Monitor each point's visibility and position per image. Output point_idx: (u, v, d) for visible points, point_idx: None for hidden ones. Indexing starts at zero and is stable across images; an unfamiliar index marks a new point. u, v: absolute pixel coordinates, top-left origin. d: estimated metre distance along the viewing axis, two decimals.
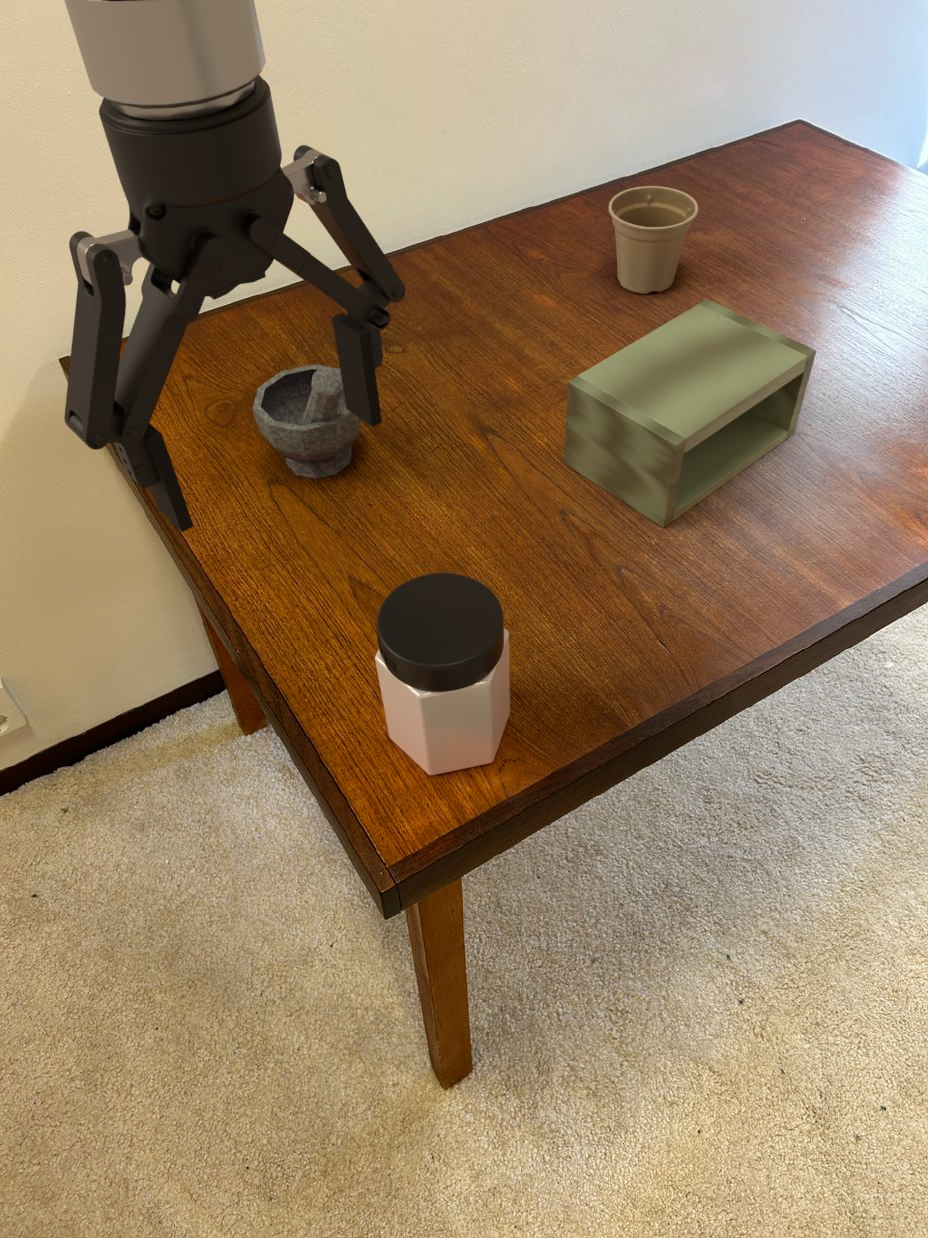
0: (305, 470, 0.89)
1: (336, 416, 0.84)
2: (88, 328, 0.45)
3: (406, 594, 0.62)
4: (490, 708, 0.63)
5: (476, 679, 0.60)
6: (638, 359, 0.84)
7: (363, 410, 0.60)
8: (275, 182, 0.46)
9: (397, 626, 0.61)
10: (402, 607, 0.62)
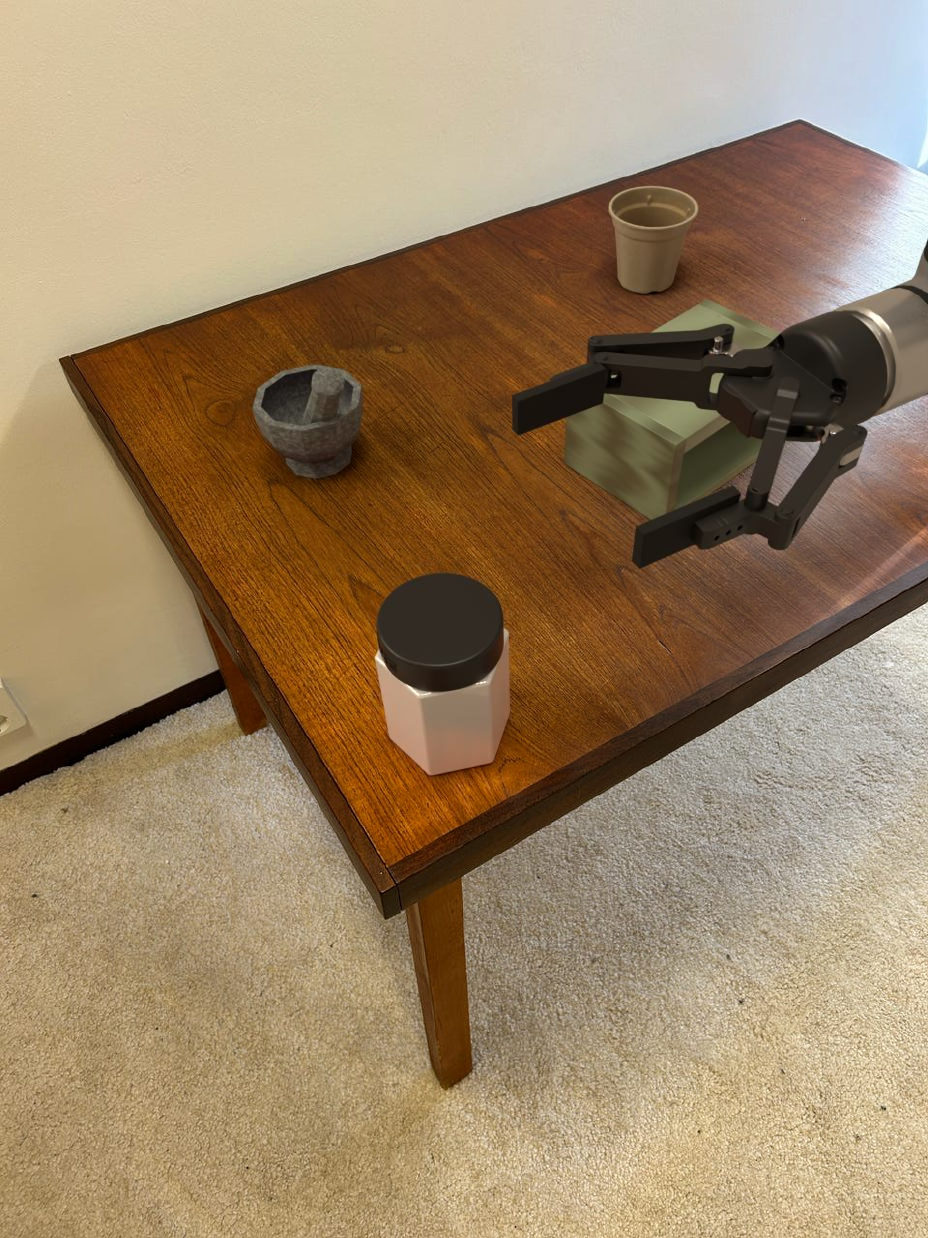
0: (305, 470, 0.89)
1: (336, 416, 0.84)
2: None
3: (406, 594, 0.62)
4: (490, 708, 0.63)
5: (476, 679, 0.60)
6: None
7: None
8: (826, 400, 0.59)
9: (397, 626, 0.61)
10: (402, 607, 0.62)
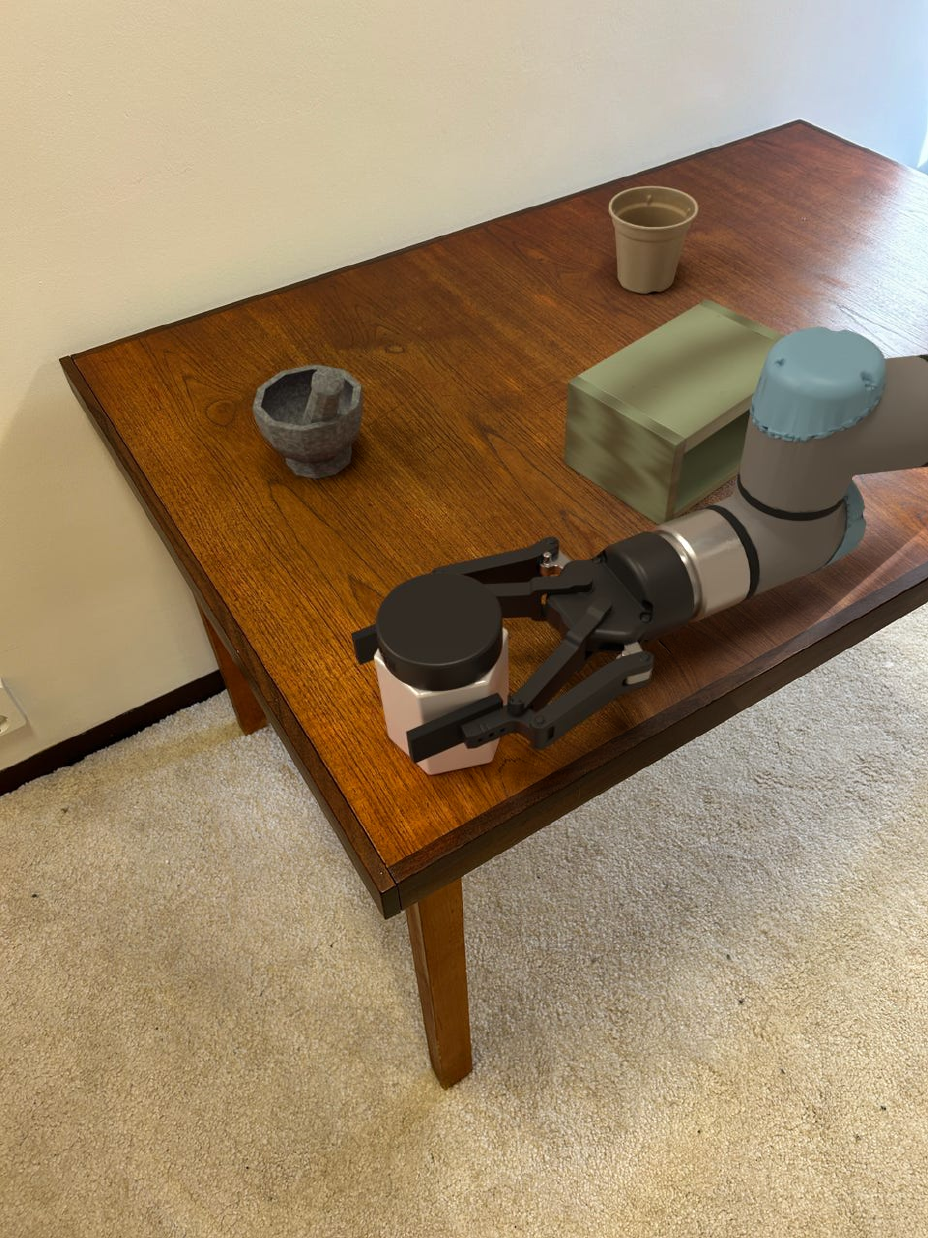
0: (305, 470, 0.89)
1: (336, 416, 0.84)
2: None
3: (405, 593, 0.62)
4: None
5: (475, 678, 0.60)
6: (638, 359, 0.84)
7: None
8: (635, 619, 0.66)
9: (396, 625, 0.61)
10: (401, 606, 0.62)
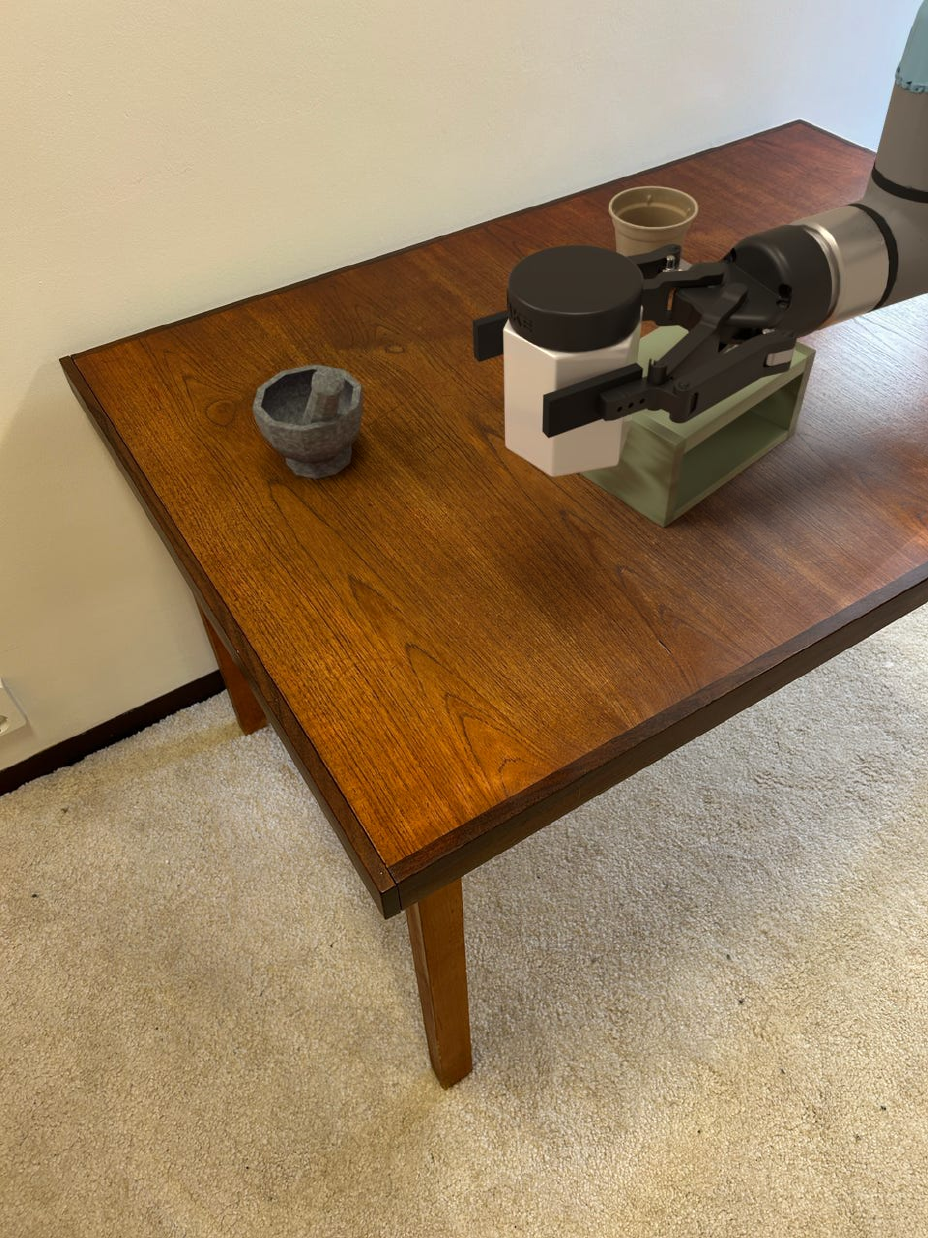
0: (305, 470, 0.89)
1: (336, 416, 0.84)
2: None
3: (537, 261, 0.59)
4: None
5: (616, 338, 0.57)
6: (638, 359, 0.84)
7: None
8: (772, 305, 0.62)
9: (531, 284, 0.57)
10: (534, 270, 0.58)
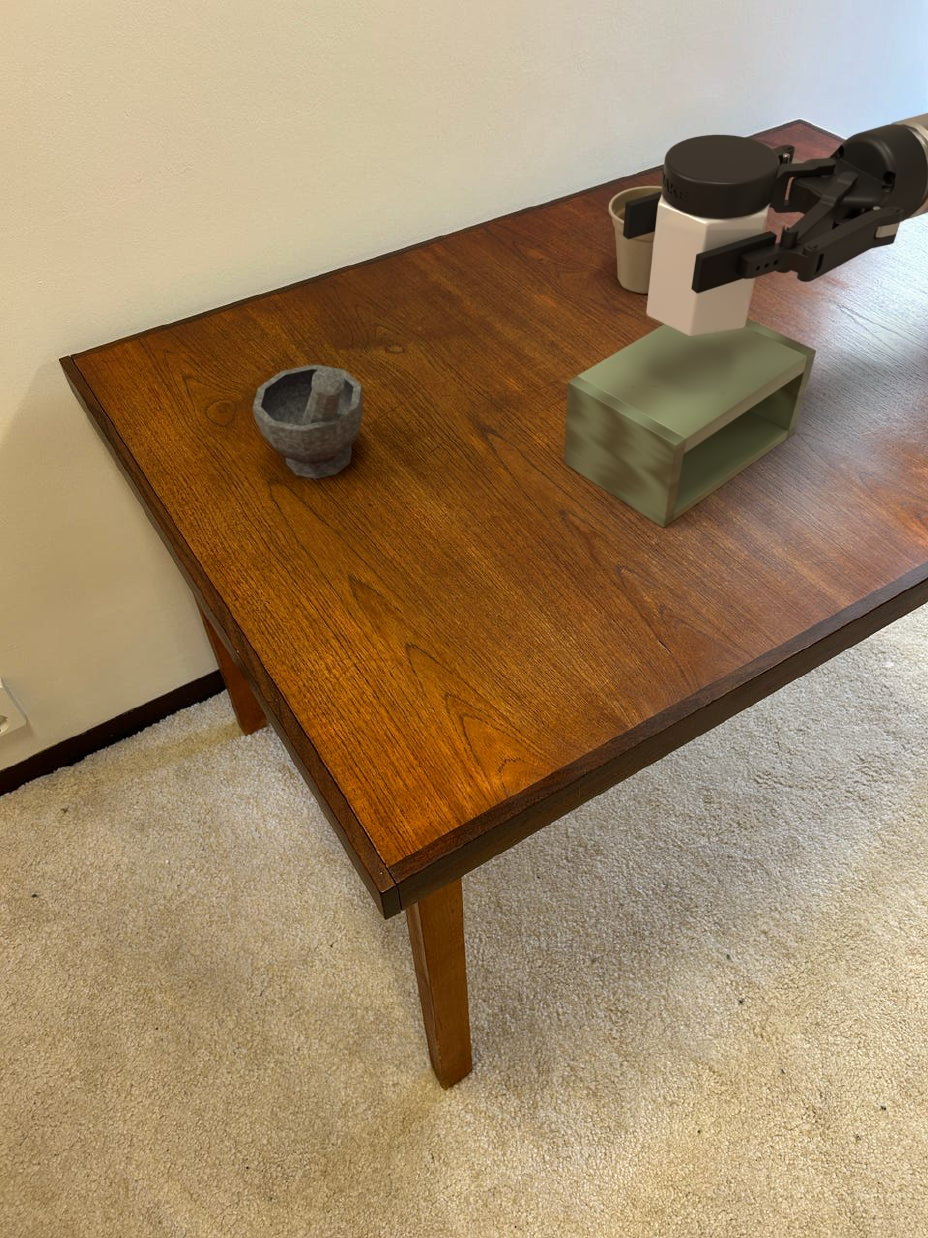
0: (305, 470, 0.89)
1: (336, 416, 0.84)
2: None
3: (687, 146, 0.71)
4: None
5: (757, 207, 0.68)
6: (638, 359, 0.84)
7: None
8: (878, 189, 0.74)
9: (686, 163, 0.69)
10: (686, 153, 0.70)
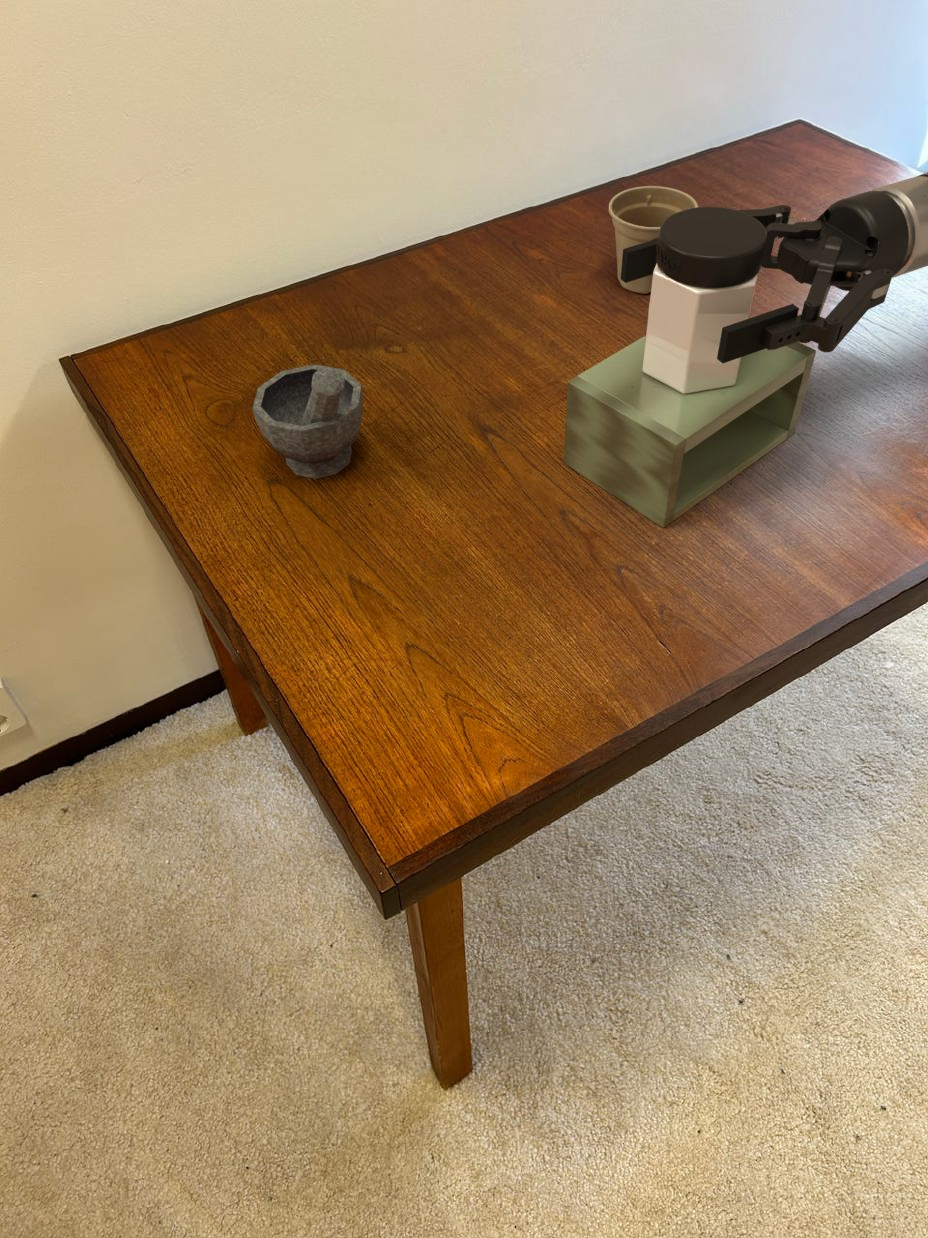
0: (305, 470, 0.89)
1: (336, 416, 0.84)
2: None
3: (680, 218, 0.75)
4: (748, 315, 0.76)
5: (746, 278, 0.73)
6: (638, 359, 0.84)
7: None
8: (862, 253, 0.78)
9: (679, 236, 0.73)
10: (679, 225, 0.74)
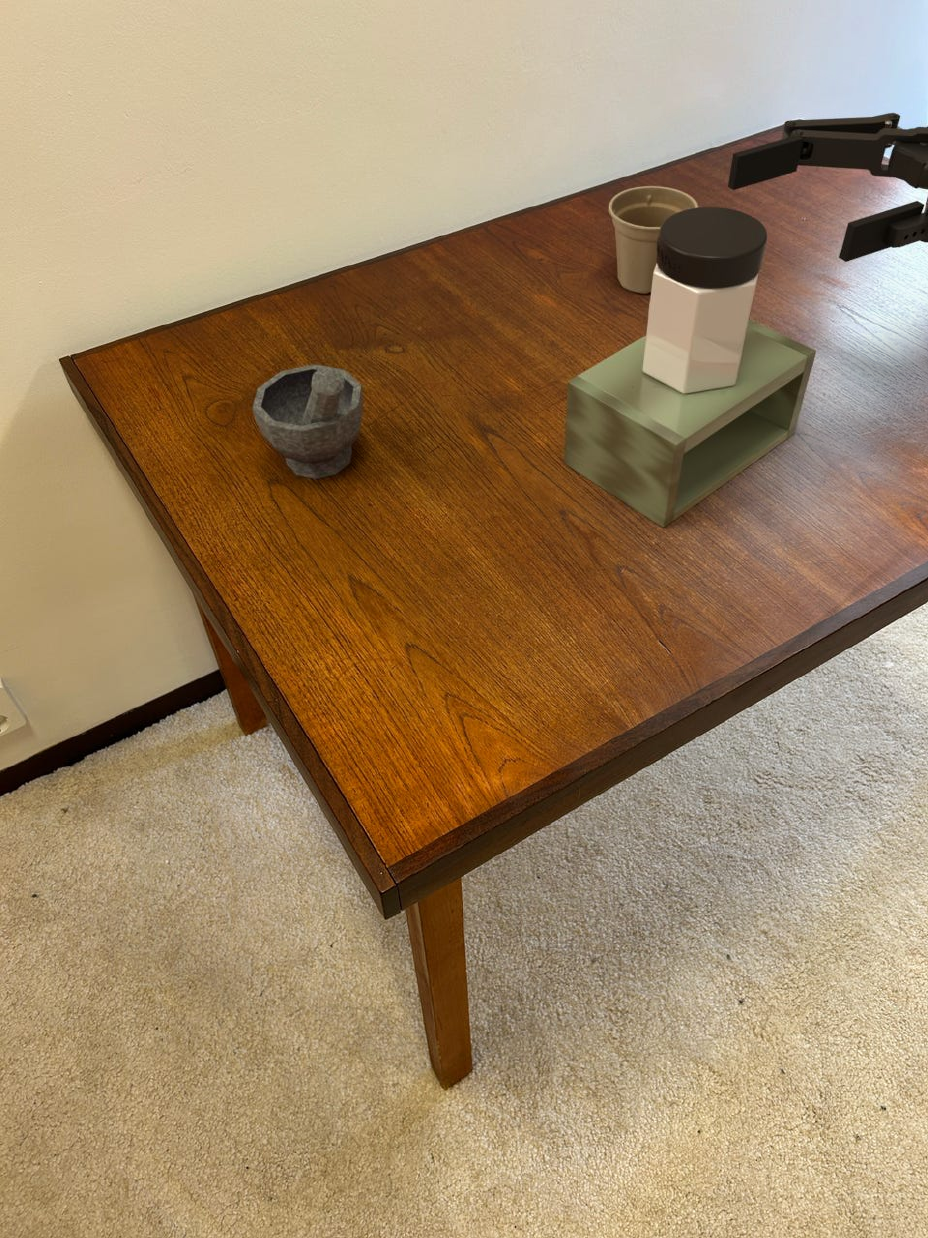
0: (305, 470, 0.89)
1: (336, 416, 0.84)
2: None
3: (680, 218, 0.75)
4: (748, 315, 0.76)
5: (746, 278, 0.73)
6: (638, 359, 0.84)
7: None
8: None
9: (679, 236, 0.73)
10: (680, 225, 0.74)
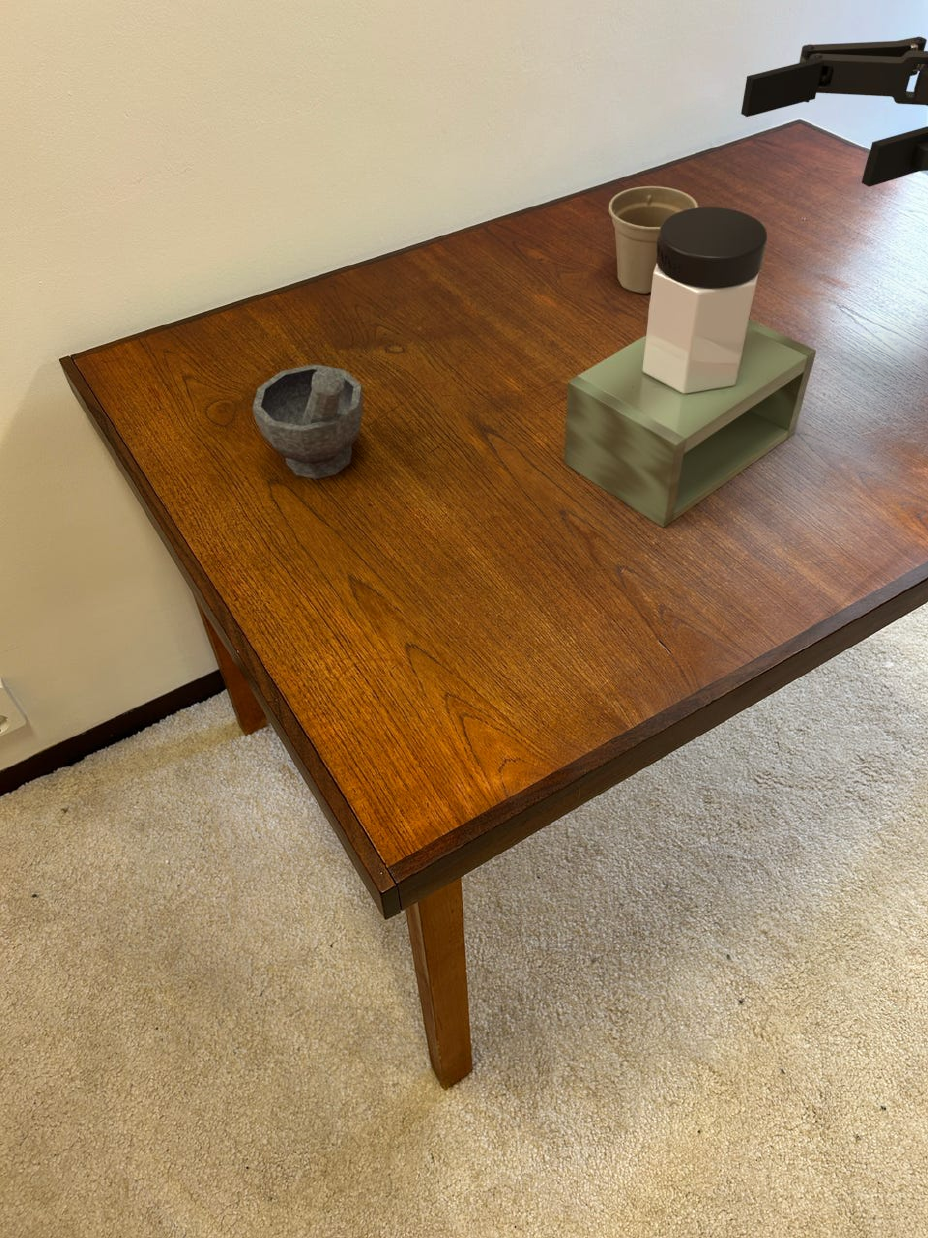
0: (305, 470, 0.89)
1: (336, 416, 0.84)
2: None
3: (680, 218, 0.75)
4: (748, 315, 0.76)
5: (746, 278, 0.73)
6: (638, 359, 0.84)
7: None
8: None
9: (679, 236, 0.73)
10: (680, 225, 0.74)
